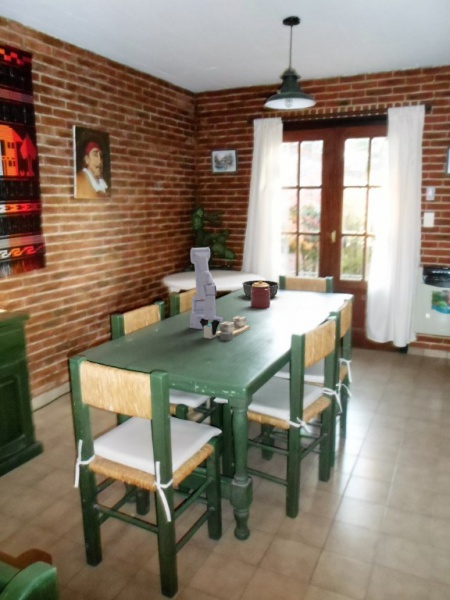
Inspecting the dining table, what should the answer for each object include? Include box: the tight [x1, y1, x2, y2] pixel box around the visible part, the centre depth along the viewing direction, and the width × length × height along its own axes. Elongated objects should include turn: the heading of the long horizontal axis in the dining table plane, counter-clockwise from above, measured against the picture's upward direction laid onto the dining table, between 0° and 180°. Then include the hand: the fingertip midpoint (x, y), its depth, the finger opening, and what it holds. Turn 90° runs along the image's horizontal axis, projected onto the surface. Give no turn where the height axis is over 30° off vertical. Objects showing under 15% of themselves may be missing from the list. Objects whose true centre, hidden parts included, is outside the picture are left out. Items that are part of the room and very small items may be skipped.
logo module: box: [203, 323, 217, 339], centre depth 252 cm, size 4×5×6 cm
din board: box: [216, 315, 251, 339], centre depth 261 cm, size 10×20×6 cm, turn 151°
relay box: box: [219, 331, 233, 342], centre depth 248 cm, size 5×4×4 cm
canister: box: [250, 279, 271, 309], centre depth 320 cm, size 13×13×18 cm
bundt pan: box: [242, 279, 280, 299], centre depth 354 cm, size 26×26×10 cm
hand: (210, 333), depth 252 cm, fingers closed on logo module, 4 cm apart
